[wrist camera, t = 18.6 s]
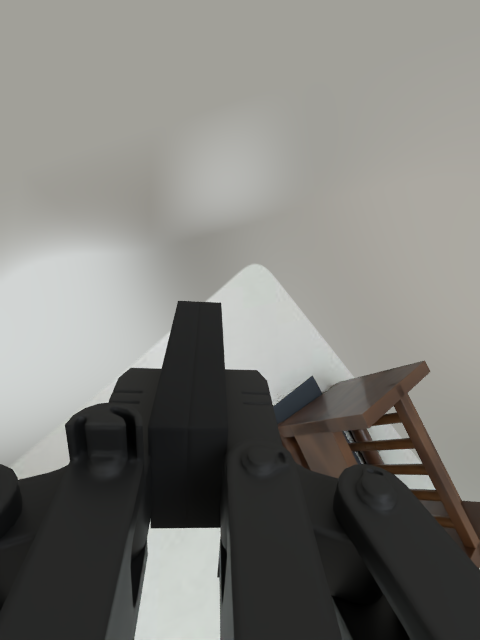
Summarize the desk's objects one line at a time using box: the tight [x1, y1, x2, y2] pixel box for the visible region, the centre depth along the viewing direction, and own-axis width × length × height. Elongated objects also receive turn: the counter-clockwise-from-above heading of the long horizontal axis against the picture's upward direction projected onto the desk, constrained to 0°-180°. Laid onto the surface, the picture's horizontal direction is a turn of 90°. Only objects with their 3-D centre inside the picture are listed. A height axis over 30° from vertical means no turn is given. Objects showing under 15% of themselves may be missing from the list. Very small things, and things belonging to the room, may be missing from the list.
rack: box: [278, 361, 480, 568], centre depth 36 cm, size 16×12×12 cm
